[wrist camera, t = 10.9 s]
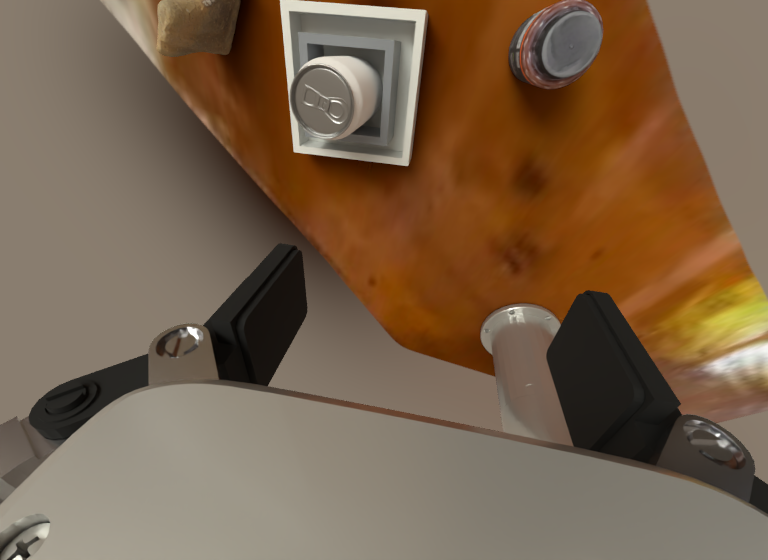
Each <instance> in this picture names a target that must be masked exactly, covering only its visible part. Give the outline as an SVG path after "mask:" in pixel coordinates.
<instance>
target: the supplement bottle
mask: <svg viewBox="0 0 768 560" xmlns="http://www.w3.org/2000/svg"><path fill="white" fill-rule="evenodd" d="M602 37H603V22H602V20H601V16H600V14H599V13H598V11H597V10H596V8H595V7H594V6H593V5H592V4H590V3H589V2H587V1H584V0H563V1H560V2H557V3H555V4H553V5H551V6H549V7H547V8H545V9H544V10H542V11H540V12H538V13H536V14H534V15H533V16H531V17H530V18H528V19H527V20H526V21H525V22H524V23H523V24H522V25H521V26H520V27H519V28H518V30H517V31H516V33H515V35H514V37H513V39H512V41H511V44H510V47H509V65H510V68H511V70H512V72H513V74H514V75H515V76H516V77H517V78H518V79H519V80H521V81H523V82H525V83H528V84H531V85H534V86H537V87H540V88H543V89H557V88H561V87H564V86H567V85H569V84H571V83H572V82H574V81H576V80H577V79H578V78H579V77H581V76H582V75H583V74H584V73H585V72H586V71H587V69H588V68H589V67H590V66H591V64H592V63H593V61H594V60H595V58H596V56H597V54H598V52H599V49H600V46H601V42H602Z"/></svg>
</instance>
